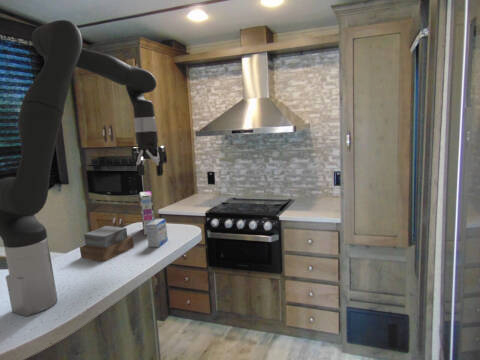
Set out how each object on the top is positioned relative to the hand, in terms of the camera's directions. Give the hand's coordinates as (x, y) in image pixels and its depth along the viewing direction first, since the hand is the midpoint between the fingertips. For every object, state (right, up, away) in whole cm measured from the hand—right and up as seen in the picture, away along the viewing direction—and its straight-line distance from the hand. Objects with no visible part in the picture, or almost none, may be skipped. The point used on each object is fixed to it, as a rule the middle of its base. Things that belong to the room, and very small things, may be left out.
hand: (150, 175), depth 125 cm
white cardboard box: (-6, -24, +20) cm, 32 cm away
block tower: (-15, -28, -2) cm, 31 cm away
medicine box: (+2, -26, +4) cm, 26 cm away
